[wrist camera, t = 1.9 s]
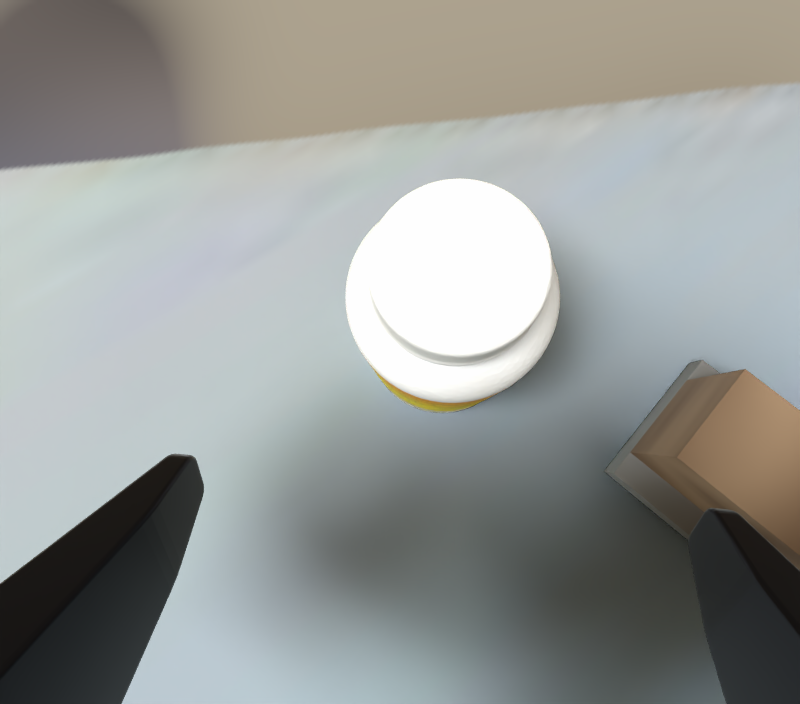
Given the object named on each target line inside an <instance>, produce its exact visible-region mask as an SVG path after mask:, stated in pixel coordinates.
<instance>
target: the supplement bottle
mask: <svg viewBox="0 0 800 704" xmlns="http://www.w3.org/2000/svg"><path fill="white" fill-rule="evenodd" d="M345 301H346V311H347V317H348V322H349V326H350V329H351V331H352V334H353V337H354V339H355V341H356V343H357V345H358V348H359V349H360V351H361V352H362V354H363V356H364V357H365V359H366V360H367V361H368V363H369V364H370V365H371V367H372V368H373V369H374V371H375V372H376V374H377V375H378V376H379V378H380V379H381V380H382V382H383V383H384V385H385V386H386V387H387V388H388V389H389V390H390V391H391V392H392V393H393V394H394V395H395V396H396V397H397V398H399V399H400V400H401V401H403V402H404V403H406V404H408V405H410V406H412V407H414V408H417V409H420V410H423V411H427V412H433V413H451V412H456V411H460V410H464V409H467V408H470V407H472V406H474V405H476V404H478V403H480V402H482V401H484V400H486V399H488V398H490V397H492V396H494V395H495V394H497V393H499V392H501V391H503V390H505V389H507V388H508V387H510V386H511V385H513V384H515V383H516V382H517V381H518V380H519V379H521V378H522V377H523V376H524V375H525V374H526V373H527V372H528V371H530V370H531V369H532V367H533V366H534V365H535V364H536V363H537V362H538V360H539V359H540V358H541V356H542V355H543V353H544V352H545V350H546V348H547V346H548V345H549V343H550V341H551V338H552V336H553V333H554V331H555V328H556V324H557V320H558V315H559V309H560V288H559V280H558V275H557V271H556V268H555V265H554V262H553V259H552V257H551V250H550V246H549V243H548V240H547V237H546V235H545V232H544V230H543V228H542V226H541V224H540V223H539V221H538V219H537V218H536V217H535V215H534V214H533V213H532V211H531V210H530V209H529V208H528V207H527V206H526V205H525V204H524V203H523V202H521V201H520V200H519V199H518V198H516V197H515V196H514V195H512V194H511V193H509V192H507V191H506V190H504V189H502V188H500V187H497V186H495V185H493V184H490V183H486V182H482V181H479V180H472V179H447V180H441V181H436V182H432V183H429V184H426V185H424V186H421V187H419V188H417V189H415V190H413V191H412V192H410V193H408V194H407V195H405V196H404V197H403V198H401V199H400V200H399V201H398V202H397V203H396V204H394V205H393V206H392V207H391V208H390V210H389V211H388V212H387V213H386V214H385V216H384V217H383V218H382V219H381V220H380V221H379V222H378V223H377V224H376V225H375V226H374V227H373V228H372V229H371V230H370V232H369V233H368V234H367V235H366V237H365V238H364V239H363V241H362V243H361V244H360V246H359V248H358V249H357V252H356V254H355V256H354V258H353V260H352V263H351V266H350V269H349V273H348V277H347V283H346V300H345Z"/></svg>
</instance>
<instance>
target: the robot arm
mask: <svg viewBox="0 0 800 704" xmlns="http://www.w3.org/2000/svg"><path fill="white" fill-rule="evenodd" d="M203 493H204V484H203V480H202V477H201V474H200V470H199V467H198V464H197V461H196V458H194V457H193V456H191V455H184V454H171V455H169V456H167V457H165V458H164V459H163V460H162V461H160V462H159V463H158V464H156V465H155V466H154V467H152V468H151V469H150V470H148V471H147V472H146V473H145V474H143V475H142V476H141V477H139V478H138V479H137V480H135V481H134V482H133V483H131V484H130V485H129V486H127V487H126V488H125V489H124V490H122V491H121V492H120V493H118V494H117V495H116V496H114V497H113V498H112V499H110V500H109V501H108V502H107V503H105V504H104V505H103V506H101V507H100V508H99V509H97V510H96V511H95V512H93V513H92V514H91V515H90V516H88V517H87V518H86V519H84V520H83V521H82V522H80V523H79V524H78V525H76V526H75V527H74V528H72V529H71V530H70V531H69V532H67V533H66V534H65V535H63V536H62V537H61V538H59V539H58V540H57V541H55V542H54V543H53V544H52V545H50V546H49V547H48V548H46V549H45V550H44V551H42V552H41V553H40V554H38V555H37V556H36V557H34V558H33V559H32V560H31V561H29V562H28V563H27V564H25V565H24V566H23V567H21V568H20V569H19V570H17V571H16V572H15V573H14V574H12V575H11V576H10V577H8V578H7V579H6V580H4V581H3V582H2V583H0V704H122V701H123V699H124V697H125V695H126V692H127V690H128V688H129V686H130V683H131V681H132V679H133V676H134V674H135V672H136V670H137V667H138V665H139V663H140V661H141V658H142V656H143V654H144V651H145V649H146V647H147V645H148V642H149V640H150V638H151V636H152V633H153V631H154V629H155V626H156V624H157V622H158V620H159V617H160V615H161V613H162V611H163V608H164V606H165V604H166V601H167V599H168V597H169V595H170V592H171V590H172V588H173V585H174V583H175V580H176V578H177V575H178V572H179V569H180V566H181V564H182V560H183V557H184V554H185V551H186V548H187V545H188V542H189V538H190V535H191V532H192V529H193V526H194V523H195V520H196V516H197V513H198V510H199V507H200V504H201V501H202V497H203ZM688 547H689V553H690V558H691V563H692V569H693V574H694V579H695V584H696V589H697V594H698V599H699V604H700V609H701V614H702V619H703V624H704V629H705V633H706V637H707V641H708V644H709V648H710V652H711V655H712V658H713V661H714V665H715V668H716V671H717V674H718V678H719V681H720V684H721V687H722V691H723V694H724V697H725V700H726V703H727V704H800V570H799V569H798V568H797V567H795V566H794V565H793V564H792V563H791V562H790V561H789V560H788V559H787V558H786V557H785V556H784V555H783V554H782V553H780V552H779V551H778V550H777V549H776V548H775V547H774V546H773V545H772V544H771V543H770V542H769V541H768V540H767V539H766V538H764V537H763V536H762V535H761V534H760V533H759V532H758V531H757V530H756V529H755V528H754V527H753V526H752V525H751V524H749V523H748V522H747V521H746V520H745V519H744V518H743V517H742V516H741V515H740V514H738V513H737V512H735V511H733V510H729V509H719V508H709V509H707V510H706V511H705V512H704V513H703V515H702V516H701V518H700V520H699V521H698V523H697V524H696V526H695V527H694V529H693V530H692V532H691V534H690V536H689V541H688Z"/></svg>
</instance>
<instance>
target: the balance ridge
mask: <svg viewBox="0 0 800 704" xmlns="http://www.w3.org/2000/svg"><path fill="white" fill-rule="evenodd" d="M604 472H606V473H607V474H608V475H609V476H610V477H612V478H613V479H614V480H615V481H617V482H618V483H619V484H620V485H621V486H623V487H624V488H625V489H626V490H627V491H629V492H630V493H631V494H632V495H634V496H635V497H636V498H637V499H638V500H640V501H641V502H642V503H643V504H644V505H646V506H647V507H648V508H649V509H651V510H652V511H653V512H654V513H655V514H657V515H658V516H659V517H660V518H661V519H663V520H664V521H665V522H666V523H668V524H669V525H670V526H671V527H672V528H674V529H675V530H676V531H677V532H679V533H680V534H681V535H682V536H683V537H685V538H686V539H687V540H688V541H689V536H690V534H691V532H692V530H693V529H694V527H695V526H696V524H697V523H698V521H699V520H700V518H701V516H702V515H703V513H704V512H705V511H706V510H707V509H709V508H719V509H729V510H733V511H735V512H737V513H738V514H740V515H741V516H742V517H743V518H744V519H745V520H746V521H747V522H748V523H749V524H751V525H752V526H753V527H754V528H755V529H756V530H757V531H758V532H759V533H760V534H761V535H762V536H763V537H764V538H766V539H767V540H768V541H769V542H770V543H771V544H772V545H773V546H774V547H775V548H776V549H777V550H778V551H779V552H780V553H782V554H783V555H784V556H785V557H786V558H787V559H788V560H789V561H790V562H791V563H792V564H793V565H794V566H795V567H797V568H798V569H799V570H800V410H798V409H797V408H796V407H794V406H793V405H792V404H790V403H789V402H788V401H786V400H785V399H784V398H782V397H781V396H780V395H779V394H777V393H776V392H775V391H773V390H772V389H771V388H769V387H768V386H767V385H765V384H764V383H763V382H761V381H760V380H759V379H757V378H756V377H755V376H753V375H752V374H751V373H749V372H748V371H747V370H746V369H744V370H738V371H733V372H728V373H722V374H720V373H719V372H718V371H716V370H715V369H714V368H713V367H711V366H710V365H709V364H707V363H706V362H705V361H703V360H701V361H697V362H693V363H689V364H688V365H687V367H686V368H685V369H684V370H683V372H682V373H681V374H680V376H679V377H678V378H677V379H676V381H675V382H674V383H673V384H672V386H671V387H670V388H669V389H668V391H667V392H666V393H665V394H664V396H663V397H662V398H661V400H660V401H659V402H658V403H657V405H656V406H655V407H654V408H653V410H652V411H651V412H650V413H649V415H648V416H647V417H646V419H645V420H644V421H643V422H642V424H641V425H640V426H639V427H638V429H637V430H636V431H635V432H634V434H633V435H632V436H631V438H630V439H629V440H628V441H627V443H626V444H625V445H624V446H623V448H622V449H621V450H620V451H619V453H618V454H617V455H616V456H615V458H614V459H613V460H612V462H611V463H610V464H609V465H608V467H607V468H606V469H605V470H604Z"/></svg>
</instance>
